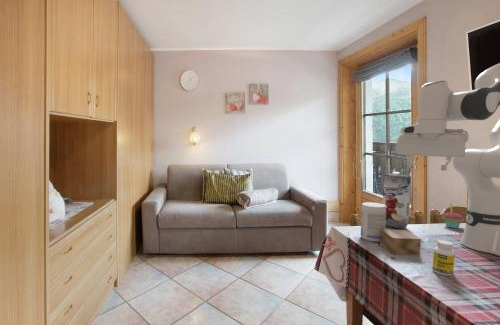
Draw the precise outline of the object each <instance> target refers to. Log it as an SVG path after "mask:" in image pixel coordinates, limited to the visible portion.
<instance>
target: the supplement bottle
mask: <svg viewBox="0 0 500 325" xmlns="http://www.w3.org/2000/svg"><path fill="white" fill-rule="evenodd" d="M453 248H454V244H453V242H452V241H449V240H444V239H438V240H437V242H436V246H435V247H434V248H433V257H432V270H433V272H434V273H436V274H438V275H442V276H448V277H449V276H452V275H454V266H455V256H456V252H455V250H453Z"/></svg>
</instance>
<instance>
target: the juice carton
mask: <svg viewBox="0 0 500 325" xmlns="http://www.w3.org/2000/svg"><path fill="white" fill-rule="evenodd" d="M383 177H384V179H383V187H382V188H383V191H382V204H384V205H385V206H386V226H385V228H389V229H391V230H406V228H407V227H408V225H409V220H410V205H411V204H410V203H411V202H410V201H411V188H412V176H411V175H409V174H401V173H400V172H399V171H394V172H392V173H387V174H384V176H383Z"/></svg>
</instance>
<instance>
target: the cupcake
mask: <svg viewBox="0 0 500 325" xmlns="http://www.w3.org/2000/svg"><path fill="white" fill-rule="evenodd" d="M442 219H443V221H444V223H445V226H446V227H447V228H449V227H451V228H450V229H459V227H460V225H461V224H462V223H463V222H464V223H465V217H464V216H462V215H461V214H460V213H456V212H453V204H452V203H450V211H449V212H446V213H444V214H443V215H442Z"/></svg>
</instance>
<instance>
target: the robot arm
mask: <svg viewBox="0 0 500 325" xmlns="http://www.w3.org/2000/svg"><path fill="white" fill-rule="evenodd" d="M499 107H500V62H499V63H497V64H495V65H492V66H491V67H489V68H487V69H485V70H484V71H483V72H481V73H480V74H479V75H477V77H476V78H475V81H474V89H471V90H466V91H465V90H464V91H458V92H455V91H453V90H451V88H450V87H449V82H448V81H447V80H438V81H432V82H427V83H424V84H423V85H422V86H421V87H420V89H419V93H418V98H417V107H416V108H417V112H418V113H417V116H416V120H415V124H411V125H408V126H404V127H402V128H400V134H401V135H398V137H397V139H396V140H397V141H396V145H395V153H396V154H397V155H404V156H405V155H406V156H405V159H406V160H407V162H408V169H414V168H415V165H416V164H415V162H412V160H411V159H412V156H422V157H423V156H425V157H444V158H445V161H446V162H445V164H441V167H440V170H441V171H445V172H446V171H447V170H448V168H447V167H448V165H449V164H450V163H451V162H452V165H453V168H454V169H455V170H456V171H457V172H458V173H459V174H460V175H461V176H462V178H463V179H464V181H465V184H466V187H467V192H468V193H467V195H468V196H467V197H468V200H467V209H465V227H464V230H463V234H462V237H461V238H460V241H459V243H460V244H461V245H463V246H464V247H467V248H468V249H469V248H470V249H472V250H475V251H479V252H484V253H488V254H492V255H495V256H498V257H500V188H499V187H497V185H496V184H495V183H494V181H493V178H496V179H500V118H499V119H498V121H497V122H496V124H495V125H494V126H493V128H492V129H491V131H490V133H489V135H488V136H489V141H490V143H492V145H494V147H493V148H475V147H474V148H467V149H466V143H467V142H469V136H470V135H469V132H468V131H467V130H464V128H459V129H458V128H457V129H453V128H451V129H450V128H447V124H448V123H447V122H455V121H457V122H458V121H459V122H460V121H485V120H487V119H489V118H490V117H491V116H493V115H494V114H495V113H496V111H497V110H498V108H499Z"/></svg>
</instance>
